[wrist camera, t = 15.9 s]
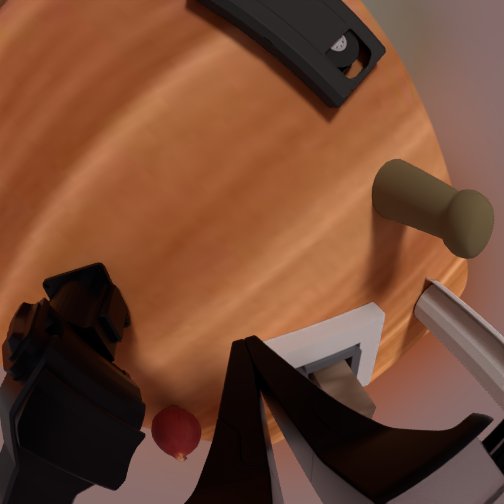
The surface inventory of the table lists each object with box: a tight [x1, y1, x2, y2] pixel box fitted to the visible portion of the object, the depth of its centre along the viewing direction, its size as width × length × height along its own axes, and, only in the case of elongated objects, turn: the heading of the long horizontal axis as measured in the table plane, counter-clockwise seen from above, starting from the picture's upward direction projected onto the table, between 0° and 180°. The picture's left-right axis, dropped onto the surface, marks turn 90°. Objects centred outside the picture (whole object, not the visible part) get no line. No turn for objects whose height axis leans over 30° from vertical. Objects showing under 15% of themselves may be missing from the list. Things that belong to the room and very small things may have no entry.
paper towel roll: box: [414, 277, 504, 411], centre depth 24 cm, size 7×6×21 cm
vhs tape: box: [196, 0, 386, 108], centre depth 15 cm, size 14×8×2 cm, turn 51°
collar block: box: [263, 302, 385, 386], centre depth 31 cm, size 14×14×3 cm
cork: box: [372, 159, 494, 259], centre depth 19 cm, size 6×6×11 cm
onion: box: [151, 405, 201, 462], centre depth 26 cm, size 6×6×8 cm
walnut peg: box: [308, 360, 376, 419], centre depth 28 cm, size 4×4×10 cm
